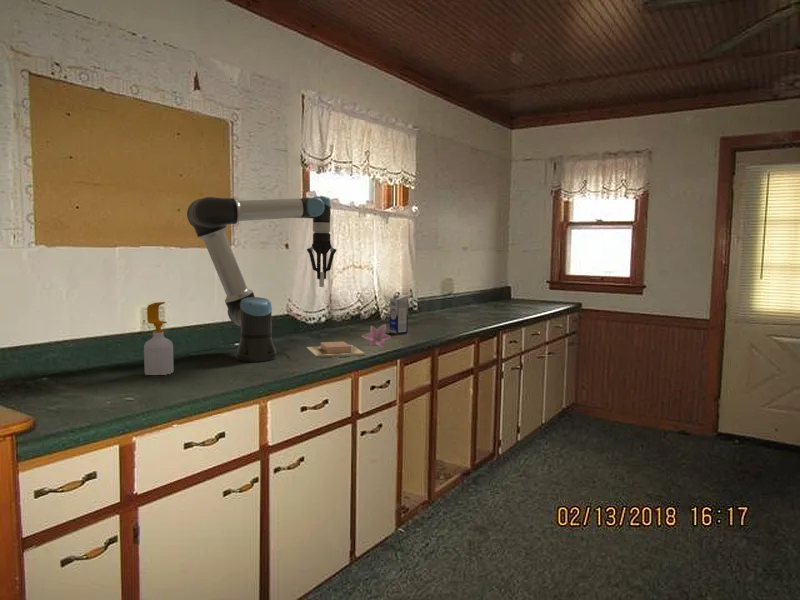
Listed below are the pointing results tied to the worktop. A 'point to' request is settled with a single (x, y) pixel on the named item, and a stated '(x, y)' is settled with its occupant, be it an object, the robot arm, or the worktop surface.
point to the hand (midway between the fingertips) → (321, 286)
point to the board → (319, 352)
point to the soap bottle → (157, 346)
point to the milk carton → (399, 314)
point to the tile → (335, 347)
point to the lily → (377, 336)
